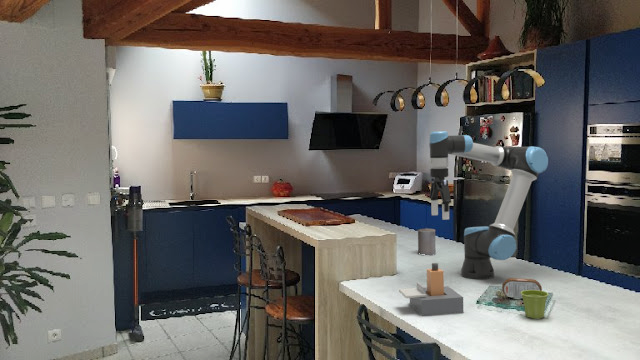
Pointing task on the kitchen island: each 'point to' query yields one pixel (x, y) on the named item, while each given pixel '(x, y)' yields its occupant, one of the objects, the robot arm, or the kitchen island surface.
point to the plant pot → (534, 303)
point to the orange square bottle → (435, 281)
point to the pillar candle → (426, 241)
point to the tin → (519, 286)
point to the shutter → (414, 291)
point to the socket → (439, 303)
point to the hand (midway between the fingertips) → (440, 217)
